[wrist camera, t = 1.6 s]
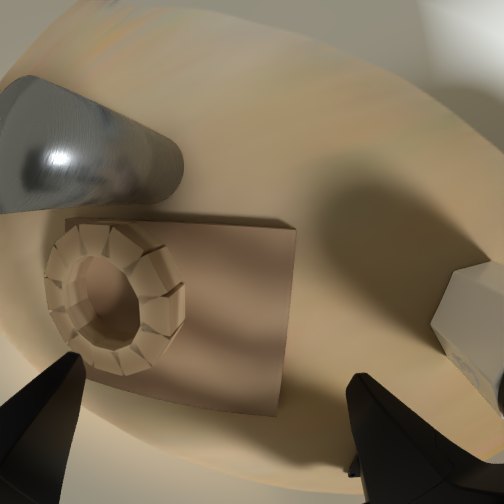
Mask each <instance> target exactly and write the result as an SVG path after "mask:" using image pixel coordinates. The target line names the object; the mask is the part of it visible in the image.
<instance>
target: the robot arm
mask: <svg viewBox="0 0 504 504" xmlns="http://www.w3.org/2000/svg"><path fill="white" fill-rule="evenodd" d="M85 380H86V369H85V366H84V362H83V359H82V356H81V354H79V353H76V352H71V351H70V352H67V353H66V354H65V355H63V356H62V357H61V358H60V359H58V360H57V361H56V362H54V363H53V364H52V365H51V366H49V367H48V368H47V369H46V370H44V371H43V372H42V373H41V374H39V375H38V376H37V377H36V378H34V379H33V380H32V381H31V382H30V383H28V384H27V385H26V386H25V387H23V388H22V389H21V390H20V391H19V392H17V393H16V394H15V395H14V396H13V397H11V398H10V399H9V400H8V401H6V402H5V403H4V404H3V405H2V406H0V504H59V500H60V495H61V489H62V483H63V479H64V474H65V469H66V464H67V460H68V456H69V452H70V447H71V443H72V439H73V435H74V432H75V428H76V425H77V421H78V417H79V412H80V406H81V401H82V395H83V390H84V385H85ZM346 399H347V405H348V412H349V418H350V424H351V430H352V434H353V438H354V441H355V445H356V449H357V454H356V456H355V458H354V461H353V463H352V465H351V467H350V469H349V471H348V477H350V478H353V477H361V481H362V486H363V491H364V496H365V501H366V503H363V504H504V464H491V463H486V462H483V461H481V460H479V459H478V458H476V457H475V456H473V455H471V454H470V453H468V452H467V451H465V450H463V449H462V448H460V447H459V446H457V445H456V444H454V443H453V442H451V441H450V440H449V439H447V438H446V437H445V436H443V435H442V434H441V433H440V432H438V431H437V430H436V429H434V428H433V427H432V426H431V425H430V424H428V423H427V422H426V421H425V420H423V419H422V418H421V417H420V416H418V415H417V414H416V413H415V412H414V411H412V410H411V409H410V408H409V407H407V406H406V405H405V404H404V403H403V402H401V401H400V400H399V399H398V398H396V397H395V396H394V395H393V394H392V393H390V392H389V391H388V390H387V389H385V388H384V387H383V386H382V385H381V384H379V383H378V382H377V381H376V380H375V379H373V378H372V377H371V376H370V375H369V374H367V373H356V374H355V375H354V376H353V377H352V379H351V381H350V383H349V384H348V386H347V388H346Z"/></svg>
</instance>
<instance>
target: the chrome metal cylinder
mask: <svg viewBox="0 0 504 504" xmlns="http://www.w3.org/2000/svg"><path fill="white" fill-rule="evenodd" d="M183 171H184V161H183V156H182V153H181V151H180V149H179V147H178V146H177V145H176V144H175V143H174V142H173V141H172V140H171V139H169V138H167V137H165V136H163V135H161V134H159V133H157V132H156V131H154V130H152V129H150V128H148V127H146V126H144V125H142V124H140V123H138V122H136V121H134V120H132V119H130V118H128V117H126V116H123V115H121V114H119V113H117V112H115V111H113V110H111V109H109V108H107V107H105V106H102V105H100V104H98V103H96V102H94V101H92V100H89V99H87V98H85V97H83V96H81V95H78V94H76V93H74V92H72V91H69V90H67V89H65V88H62V87H60V86H58V85H55V84H53V83H51V82H48V81H46V80H43V79H41V78H38V77H36V76H30V75H28V76H23V77H21V78H19V79H17V80H15V81H14V82H12V83H11V84H10V85H9V86H8V87H7V88H6V89H5V90H4V91H3V92H2V93H1V94H0V214H6V213H15V212H25V211H35V210H47V209H59V208H72V207H87V206H104V205H123V204H149V203H157V202H160V201H163V200H165V199H166V198H168V197H169V196H170V195H171V194H173V192H174V191H175V190H176V189H177V187H178V186H179V184H180V182H181V179H182V176H183Z"/></svg>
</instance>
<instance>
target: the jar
mask: <svg viewBox="0 0 504 504" xmlns="http://www.w3.org/2000/svg"><path fill="white" fill-rule="evenodd" d="M430 325H431V327H432V329H433V331H434V332H435V334H436V336H437V338H438V340H439V342H440V343H441V345H442V347H443V349H444V351H445V353H446V355H447V357H448V358H449V360H450V361H451V362H452V363H453V364H454V365H455V366H456V367H457V368H458V369H459V370H460V371H461V373H462V374H463V375H464V376H465V377H466V378H467V379H468V380H469V381H470V382H471V384H472V385H473V386H474V387H475V388H476V389H477V390H478V392H479V393H480V394H481V395H482V396H483V397H484V398H485V400H486V401H487V402H488V403H489V404H490V405H491V407H492V408H493V409H494V410H495V411H496V413H497V414H498V415H499V416H500V417H501V418H502V419H504V265H503V264H501V263H498V262H495V261H490V262H486V263H482V264H478V265H475V266H471V267H467V268H463V269H459V270H455V271H454V272H453V274H452V276H451V279H450V281H449V284H448V286H447V288H446V291H445V293H444V295H443V297H442V300H441V302H440V304H439V306H438V308H437V310H436V313H435V315H434V317H433V319H432V321H431V323H430Z"/></svg>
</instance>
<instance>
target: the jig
mask: <svg viewBox="0 0 504 504" xmlns="http://www.w3.org/2000/svg"><path fill="white" fill-rule="evenodd" d="M65 230H66V234H64V235H63V236H62V237H61V238H60V239H58V240H57V241H56V242H55V244H56V245H53V247H52V250H51V253H50V256H49V259H48V263H47V266H46V270H45V273H44V274H45V275H46V276H47V277H44V282H45V290H46V298H47V304H48V309H49V310H52V312H51V313H50V315H51V317H52V319H53V321H54V323H55V325H56V327H57V328H58V330H59V332H60V334H61V336H62V338H63V339H64V341H65V342H66V341H69V342H68V346H69V347H70V348H71V349H72V350H73V351H75V352H76V353H79V354H81V356H82V359H83V362H84V366H85V369H86V378H87V379H89V380H92V381H95V382H98V383H101V384H105V385H108V386H111V387H114V388H118V389H121V390H125V391H128V392H132V393H136V394H139V395H143V396H147V397H151V398H155V399H160V400H164V401H169V402H173V403H178V404H183V405H188V406H194V407H199V408H205V409H211V410H218V411H225V412H232V413H240V414H249V415H259V416H271V417H276V415H277V408H278V401H279V394H280V387H281V379H282V371H283V363H284V355H285V347H286V338H287V329H288V320H289V310H290V301H291V290H292V280H293V268H294V257H295V244H296V231H297V230H296V229H294V228H280V227H266V226H250V225H234V224H217V223H199V222H179V221H157V220H131V219H100V218H69V219H65Z"/></svg>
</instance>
